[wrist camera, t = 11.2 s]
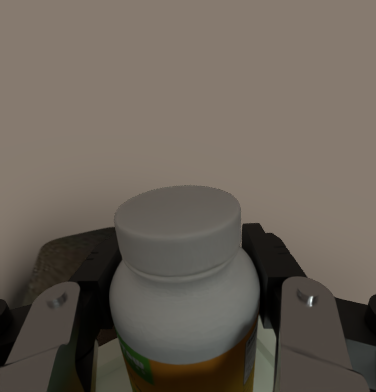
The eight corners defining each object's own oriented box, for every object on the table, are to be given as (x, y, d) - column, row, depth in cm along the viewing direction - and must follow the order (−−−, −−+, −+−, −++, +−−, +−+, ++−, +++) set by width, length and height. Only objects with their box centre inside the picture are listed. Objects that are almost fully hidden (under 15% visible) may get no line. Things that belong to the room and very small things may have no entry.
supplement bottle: (113, 430, 9) (38, 233, 5) (171, 320, 13) (151, 177, 10) (243, 517, 6) (258, 284, 3) (257, 350, 11) (269, 183, 8)
